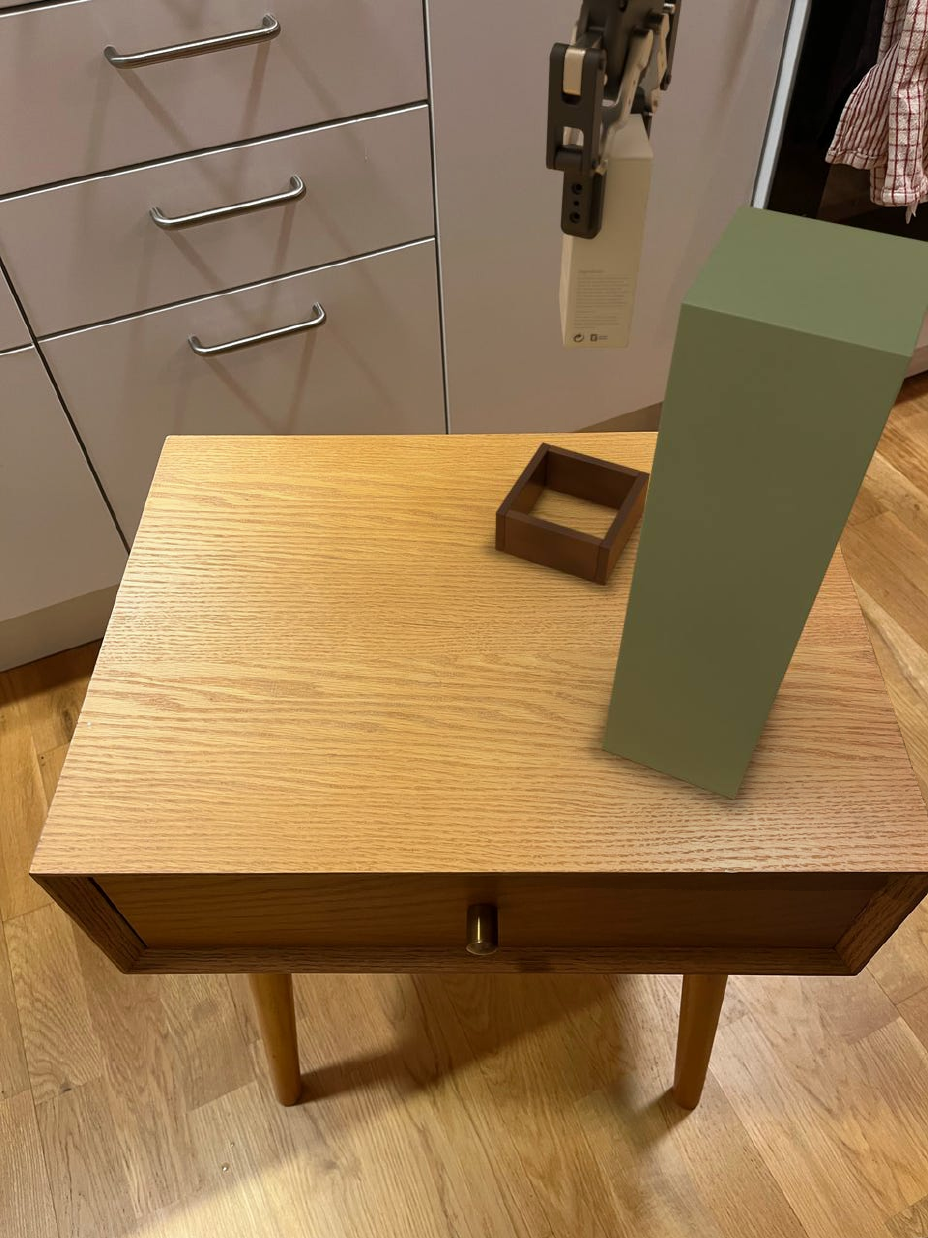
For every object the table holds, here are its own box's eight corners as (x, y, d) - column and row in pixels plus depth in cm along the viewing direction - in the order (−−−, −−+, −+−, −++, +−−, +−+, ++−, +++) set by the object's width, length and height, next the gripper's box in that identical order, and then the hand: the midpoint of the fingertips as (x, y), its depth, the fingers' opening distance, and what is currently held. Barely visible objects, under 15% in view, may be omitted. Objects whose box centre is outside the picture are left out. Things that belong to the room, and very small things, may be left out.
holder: (643, 510, 78) (650, 473, 75) (604, 585, 73) (610, 549, 70) (539, 478, 81) (542, 441, 78) (494, 549, 76) (495, 512, 73)
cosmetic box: (630, 350, 61) (655, 157, 52) (562, 350, 61) (575, 158, 52) (621, 297, 65) (643, 110, 56) (557, 298, 65) (569, 111, 56)
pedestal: (769, 696, 66) (947, 244, 41) (734, 800, 61) (913, 356, 36) (645, 653, 69) (740, 203, 44) (601, 749, 64) (680, 301, 39)
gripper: (668, -98, 39) (623, 277, 51) (758, -173, 47) (700, 166, 60) (499, -116, 41) (495, 248, 54) (614, -184, 49) (587, 145, 62)
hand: (603, 204), depth 57 cm, fingers closed on cosmetic box, 7 cm apart
